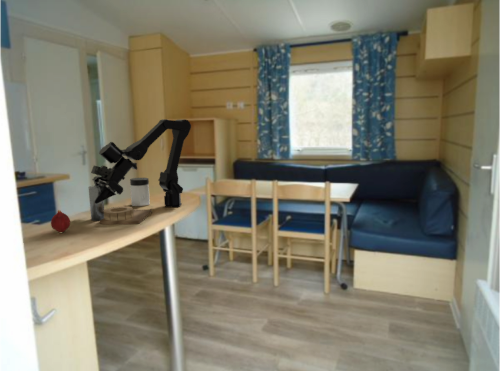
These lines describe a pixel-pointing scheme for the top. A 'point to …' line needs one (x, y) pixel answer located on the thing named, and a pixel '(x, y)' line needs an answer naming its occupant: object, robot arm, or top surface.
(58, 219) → the pomegranate
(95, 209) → the chrome metal cylinder
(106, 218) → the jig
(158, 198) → the top surface
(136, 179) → the jar
